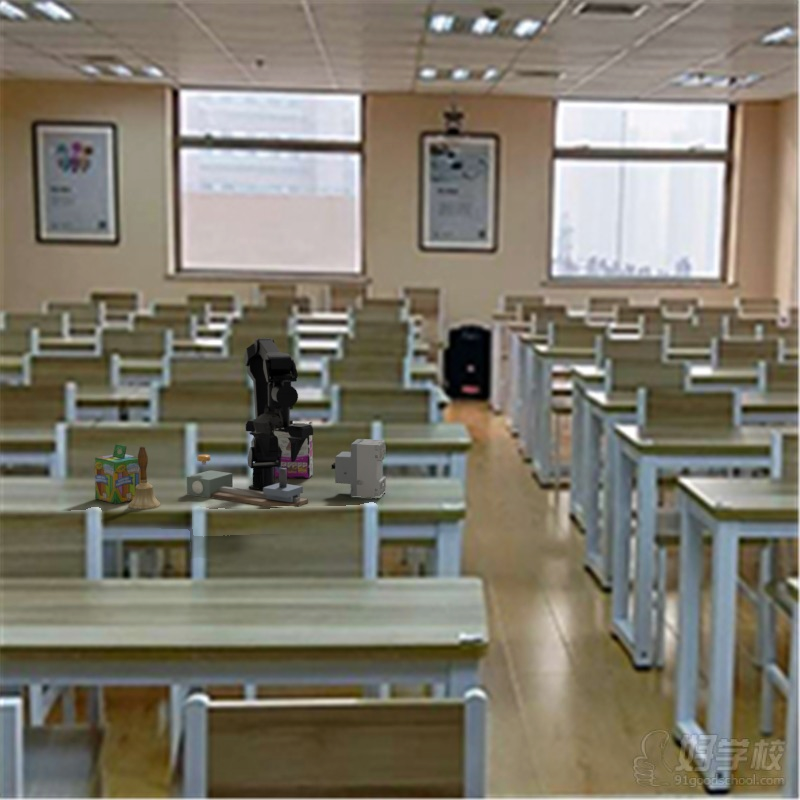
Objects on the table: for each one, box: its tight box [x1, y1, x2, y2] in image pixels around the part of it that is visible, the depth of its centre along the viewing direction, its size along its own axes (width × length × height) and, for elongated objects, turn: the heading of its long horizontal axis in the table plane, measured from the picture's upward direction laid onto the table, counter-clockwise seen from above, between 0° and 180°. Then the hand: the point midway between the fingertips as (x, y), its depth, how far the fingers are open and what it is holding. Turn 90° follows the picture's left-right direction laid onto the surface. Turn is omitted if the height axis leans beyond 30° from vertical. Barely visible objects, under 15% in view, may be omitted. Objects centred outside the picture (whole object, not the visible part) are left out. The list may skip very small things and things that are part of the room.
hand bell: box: [128, 446, 161, 510], centre depth 309 cm, size 8×8×16 cm
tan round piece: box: [196, 454, 211, 466], centre depth 326 cm, size 4×4×2 cm
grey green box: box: [186, 469, 234, 499], centre depth 325 cm, size 10×8×5 cm
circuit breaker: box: [330, 438, 387, 498], centre depth 324 cm, size 8×14×15 cm, turn 78°
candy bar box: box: [272, 420, 314, 479], centre depth 347 cm, size 11×5×16 cm, turn 82°
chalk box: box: [94, 443, 141, 505], centre depth 317 cm, size 9×9×15 cm
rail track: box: [211, 486, 309, 507], centre depth 317 cm, size 9×26×2 cm, turn 60°
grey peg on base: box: [262, 468, 304, 502], centre depth 313 cm, size 7×8×8 cm
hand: (279, 459), depth 312 cm, fingers open, 9 cm apart
